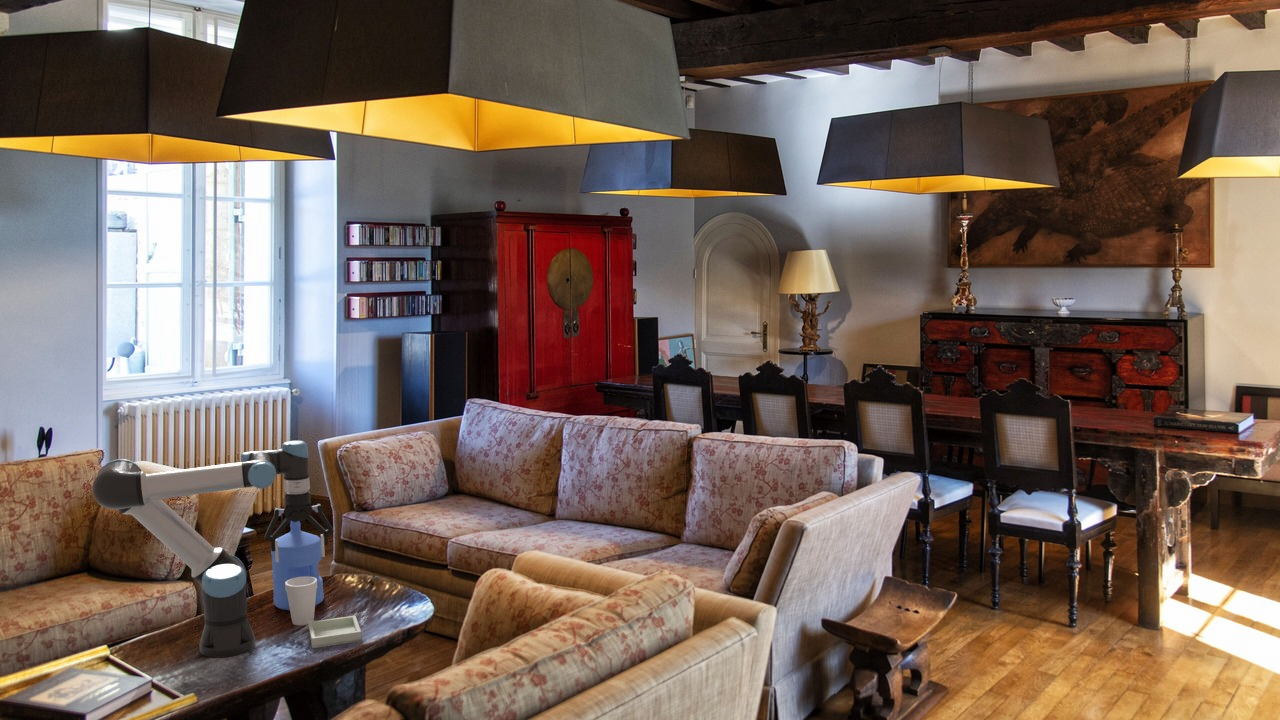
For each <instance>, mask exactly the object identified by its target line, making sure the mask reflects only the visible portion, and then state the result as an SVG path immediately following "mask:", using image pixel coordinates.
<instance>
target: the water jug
mask: <svg viewBox="0 0 1280 720" xmlns="http://www.w3.org/2000/svg"><path fill="white" fill-rule="evenodd" d="M289 524H290V526H289V527H290V531H289V532H288V533H285V534H284V535H281V536H278V537H277V538H276V539H277V541H278V558H279V562H276V556H275V551H272V550H271V549H270V551H271V555H270V556H271V562H272V563H271V564H272V566H271V567H272V575H271V576H272V582H273V583H272V586H273V605H274V606H275V607H277V608H278V609H280V610H286V611H290V607H289V602H288V597H287V592H286V590H285V582H286V581H287V580H289V579H292V578H296V577H303V576H309V577H314V578H316V579H317V590H316V601H315V607H316V606H317V605H320V603H322V602H323V601H324V599H325V597H324V596H325V595H324V584H323V582H324V581H323V578H322V577H321V576H320V574H319V562H321V560H323V559H322V558H323V557H322V553H321V537H320V536H318V535H315V534H312V533H309V532H306V531H303V530H301V521H297V522H293V521H290V523H289Z"/></svg>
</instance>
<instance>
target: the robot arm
mask: <svg viewBox="0 0 1280 720" xmlns="http://www.w3.org/2000/svg"><path fill="white" fill-rule="evenodd" d="M281 445H282V446H281V448H279V449H268V450H267V449H266V450H251V451H244V452H242V453H241V455H240V461H239V462H238V461H237V462H231V463H223V464H216V465H215V464H214V465H207V466H201V467H194V468H193V467H192V468H185V469H177V470H170V471H163V472H154V473H153V472H152V473H147V472H145V471H144V470H142V469H141V468H140V466H139V465H138V464H137V463H135V462H134V461H132V460H129V459H127V458H126V459H125V458H117V459H114V460H113V459H112V460H111V461H108V462H107V463H106V464H105V465H103V466H102V467H101V468H100V469H99V471H98V472H97V474H96V477H95V478H94V480H93V482H92V487H91V493H92V496H93V498H94V500H95V501H96V503H97V504H98V505H100V506H101V507H103V508H106V509H107V510H117V511H118V512H119V513H120V514H122V515H130V516H133V518H135V519H136V521H137V522H138V523H140V524H141V525H142V526H143V527H144V528H145V529H146V530H148V531H149V532H150V533H151V534H152V535H153V536H154V537H156V538H157V540H159V541H160V542H161V543H162V544H163V545H164V546H165V547H166V548H168V549H169V550H170V551H171V552H172V553H173V554H174V555H175V556H177V557H178V558H179V559H180V560H181V561H182V562H183V563H184V564H185V565H186V566H188V567H189V568H190V569H191V578H193V580H195V581H196V582H197V583H198V584H199V585H200V586H201V588H202V600H203V602H202V603H203V617H204V627H203V629H202V630H203V631H202V633H201V637H200V639H199V640H200V641H199V652H200V654H201V655H203V656H205V657H209V658H227V657H234V656H237V655H240V654H241V655H242V654H243V653H246V652H247V651H248V652H249V651H250V650H252V648H254V647H255V645H256V638H255V633H254V631H253V629H252V626H251V624H250V622H249V620H248V607H247V606H248V604H247V569H246V567H245V565H244V563H243V562H242V560H240V558H238V557H237V556H235V555H232V554H230V553H228V551H226V549H224V548H223V547H218V546H217V547H216V546H215V547H214V546H212V544H211V543H210V542H208V541H207V539H206V538H205V537H203V536H202V535H201V534H200V533H198V531H197V530H195V529H194V528H193V527H192V526H191V525H190V524H189V523H188V522H187V521H186V520H185V519H183V517H181V516H180V515H179V514H178V513H177V512H176V511H175V510H174V509H172V508H171V507H170V506H169V505H168V504H167V503H166V502H165V501H164V500H167V499H173V498H180V497H186V496H194V495H200V494H201V495H202V494H208V493H209V494H210V493H216V492H223V491H232V490H238V489H244V488H253V487H254V488H256V489H265V488H268V487H270V486H271V485H273V483H274V482H275V480H276V478H277V477H276V475H282V474H283V491H284V492H285V493H284V507H283V508H278V507H275V508H274V512H273V516H272V517H271V520H270V523H269V525H268V527H267V530H266V531H265V534H264V540H265V541H269V542H270V551H271V550H272V551H275V556H276V562H279V558H278V541H277V538H279V537H280V535H281V533H282V532H283V531H284V530H285V529H286V527H287V526H288V525H289V524H291V522H290V521H293V522H297V521H300V522H305V521H306V520H307V521H308V522H309V523H311V525H313V526H314V527H315V528H316V529H317V530H318V532H320V539H321V556H322V558H325V556H326V555H325V554H326V552H325V546H329V534H333V533H335V532H334V531H335V530H334V528H333V527H332V525H331V523H330V522H329V520H328V518H327V517H326V516H325V513H324V512H323V509H322V505H321V503H317V504H316V505H312V504H311V503H312V502H311V492H310V489H311V485H310V484H311V483H310V460H309V459H310V457H309V448H308V446H309V445H308V443H307V442H306V441H304V440H290V441H285V442H283V443H282V444H281ZM313 511H314V512H315V513H318V516H319V518H320V519H321V520H322V522H323V524H324V526H325V527H326V528H324V527H323V526H322V525H321V524H320V523H319V522H318V521H317V520H316V519H315V518H314V517H313V516H312V515H311V514H312V512H313ZM282 514H284V515H285V518H284V519H283V521H282V522H281V523H280V524H279V525H278V527H277V528H276V530H275V531H274V532H273V530H274V528H275V527H276V525H277V522H278V520H279V517H281V516H282ZM272 533H273V534H272Z"/></svg>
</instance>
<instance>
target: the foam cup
mask: <svg viewBox="0 0 1280 720" xmlns="http://www.w3.org/2000/svg"><path fill="white" fill-rule="evenodd" d="M285 590H286V592H287V597H288V602H289V607H290V610H289V612H290V617H291V621H292V625H294V626H307V625H308V622H311V621H315V609H316V606H315V601H316V590H317V579H316V578H314V577H309V576H303V577H296V578H292V579H289V580H287V581H286V582H285Z"/></svg>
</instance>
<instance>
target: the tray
mask: <svg viewBox="0 0 1280 720" xmlns="http://www.w3.org/2000/svg"><path fill="white" fill-rule="evenodd" d="M307 625H308V626H307V627H308V635H309V639H310V643H311V649H318V648H324V647H330V646H338V645H346V644H351V643H358V642H362V631H361V627H360V625H359V620H358V619H357V616H356V615H348V616H343V617H335V618H327V619H321V620H320V619H319V620H314V621H311V622H308V624H307Z"/></svg>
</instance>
